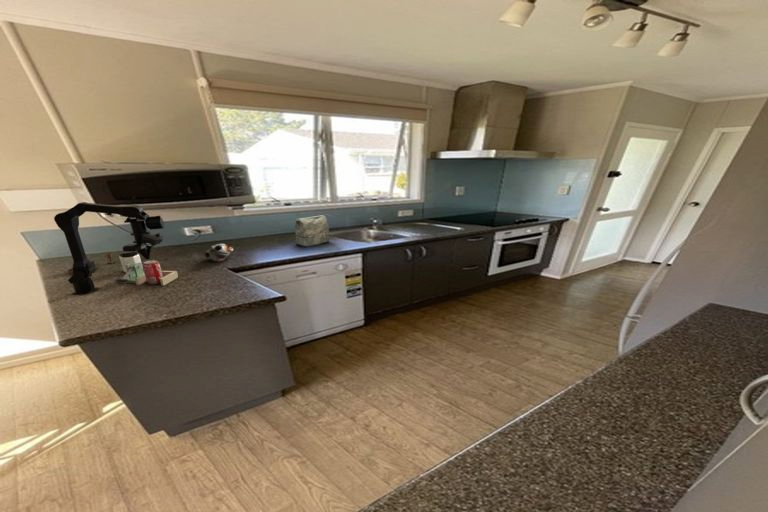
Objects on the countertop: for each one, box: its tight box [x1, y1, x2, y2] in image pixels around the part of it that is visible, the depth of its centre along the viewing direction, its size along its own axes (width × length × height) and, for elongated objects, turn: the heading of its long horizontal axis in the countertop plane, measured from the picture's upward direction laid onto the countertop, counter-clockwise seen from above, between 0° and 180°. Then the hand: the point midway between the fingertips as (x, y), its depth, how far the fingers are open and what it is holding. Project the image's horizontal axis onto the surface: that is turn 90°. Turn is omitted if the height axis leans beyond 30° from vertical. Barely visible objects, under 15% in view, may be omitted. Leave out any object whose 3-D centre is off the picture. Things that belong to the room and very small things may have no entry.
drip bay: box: [135, 270, 179, 287], centre depth 155 cm, size 11×14×4 cm
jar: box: [118, 250, 143, 274], centre depth 168 cm, size 9×8×12 cm
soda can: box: [142, 259, 163, 285], centre depth 152 cm, size 7×7×12 cm
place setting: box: [67, 253, 116, 275], centre depth 170 cm, size 18×20×6 cm
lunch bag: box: [294, 214, 330, 248], centre depth 230 cm, size 26×18×22 cm
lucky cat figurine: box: [204, 243, 235, 263], centre depth 189 cm, size 15×12×14 cm
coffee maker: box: [118, 262, 145, 284], centre depth 157 cm, size 12×10×9 cm
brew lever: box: [115, 264, 135, 283], centre depth 153 cm, size 12×5×2 cm, turn 0°
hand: (147, 259), depth 150 cm, fingers closed
